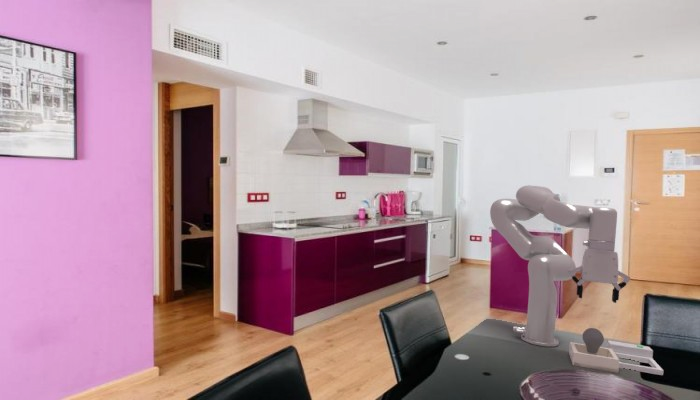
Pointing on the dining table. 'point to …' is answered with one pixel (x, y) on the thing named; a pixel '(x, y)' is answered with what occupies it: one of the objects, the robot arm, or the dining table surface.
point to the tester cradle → (635, 356)
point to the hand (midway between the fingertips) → (596, 299)
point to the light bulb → (593, 340)
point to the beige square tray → (594, 358)
